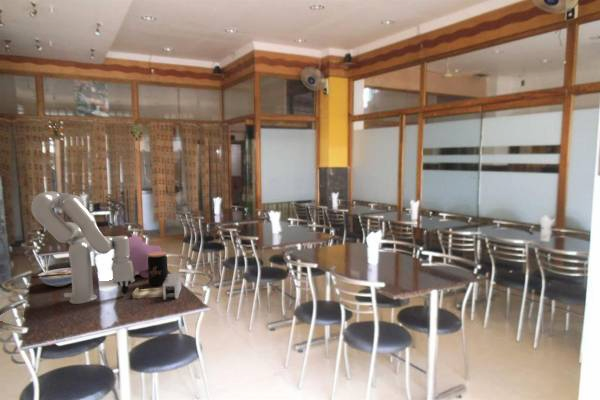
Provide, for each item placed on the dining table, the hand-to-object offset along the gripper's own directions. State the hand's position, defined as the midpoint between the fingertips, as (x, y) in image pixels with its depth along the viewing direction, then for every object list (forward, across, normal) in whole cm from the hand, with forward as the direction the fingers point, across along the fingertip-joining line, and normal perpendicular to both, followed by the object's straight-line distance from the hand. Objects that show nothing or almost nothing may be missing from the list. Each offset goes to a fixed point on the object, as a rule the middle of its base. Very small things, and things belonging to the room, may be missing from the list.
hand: (125, 293), depth 223 cm
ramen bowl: (+1, -42, +30) cm, 52 cm away
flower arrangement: (+2, 0, +45) cm, 45 cm away
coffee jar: (+2, +14, +20) cm, 24 cm away
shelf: (+2, +24, 0) cm, 24 cm away
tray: (+2, +12, 0) cm, 12 cm away
